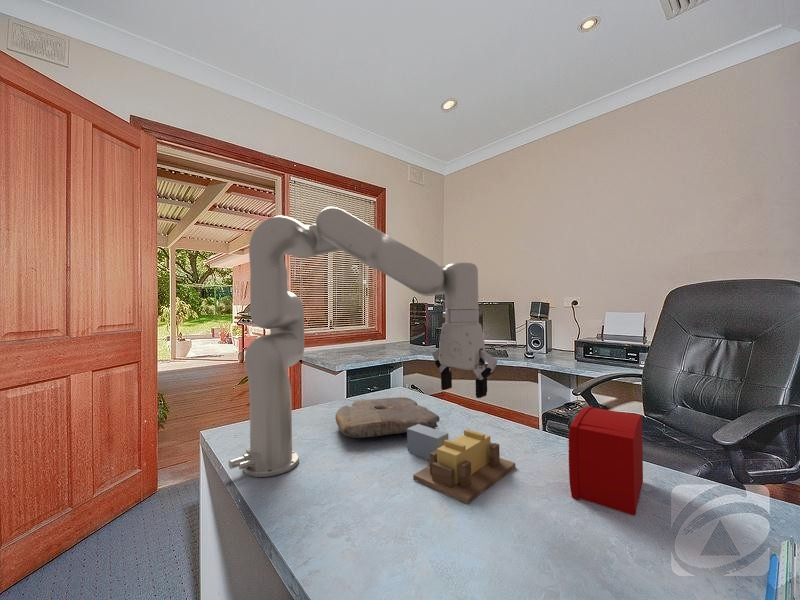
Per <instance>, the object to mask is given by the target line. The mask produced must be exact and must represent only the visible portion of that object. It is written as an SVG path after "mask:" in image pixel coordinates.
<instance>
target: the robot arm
mask: <svg viewBox="0 0 800 600" xmlns="http://www.w3.org/2000/svg"><path fill="white" fill-rule="evenodd" d="M248 251H249V254H248V255H249V257H248V258H249V267H250V269H249V271H250V273H249V274H250V275H249V276H250V278H249V281H250V282H249V293H250V294H249V297H250V299H249V301H250V305H249V306H250V307H249V309H250V310H249V311H250V317H251V321H252V322H253V324H254V325H255V326H256V327H258V328H260V329H264V330H265V329H267V330H269V331H270V332H269V334H263V335H260V336H258V337H257V338H255V339H253V340H252V341H251V342H249V345H248V346H247V348H246V349H245V353H244V365H245V370H246V375H247V380H248V393H249V394H248V398H249V400H248V401H249V441H250V442H249V443H250V445H249V446H250V448H246V450H245V453H244V454H242V456H239V457H235V458H233V459H229V460H228V468H229V469H230V470H233V469H235V468H237V467H238V469H239V470H243V472H244V473H245V474H246V475H248V476H250V477H255V478H268V477H275V476H278V475H281V474H284V473H287V472H288V471H291V470H292V469H294V468H295V467H296V466H298V464H299V461H300V455H299V454H298V453H297V451H294V450H293V424H292V423H293V417H292V416H293V415H292V411H293V410H292V408H293V407H292V386H291V385H292V384H291V381H290V377H289V373H288V368H291V367H293V366H295V365H296V364H298V363H299V361H300V360H301V359H302V358H303V356H304V352H305V311H304V310H305V309H304V306H303V303H302V301H301V299H300V297H299V296H298V295H297V294H295V293H294V292H291V291H289V289H288V270H287V266H286V263H285V256H286V255H288V256H292V257H295V258H299V259H305V258H306V259H307V258H313V257H317V256H320V255H325V254H329V253H333V252H337V251H342V252H343V253H346V254H348V256H350V257H352V258H354V259H355V260H357V261H359V262H360V263H363V264H364V265H365V266H367V267H369V268H371V269H373V270H376V271H379V272H380V273H383V275H384V274H385V275H386V276H388V277H389V278H392V279H393V280H394V281H397V282H398V283H400V284H402V285H403V286H404V287H407V288H408V289H410V290H411V291H413V292H415V293H417V294H418V295H421V296H424V297H433V296H438V295H444V312H443V313H442V317H443V318H444V320H445V322H444V323H442V325H441V329H440V337H439V346H438V347H439V348H438V349H437V350H434V351H433V352H432V356H433V360H434V364H435V366H436V367H437V370H438V373H440V384H441V385H440V387H441V391H446V390H449V389H452V388H453V383H452V381H453V377H452V376H453V373H452V371H451V369H457V370H458V369H459V370H464V371H472V372H473V373H474V374H475V375H476V377H477V379H475V397H476V398H477V399H480V398H484V397H486V396H487V393H488V379H489V378H490V377H491V375H492V374H494V371H495V368H496V367H497V365H498V363H499V362H498V359H496V358H495V357H494V356H492V355H491V354H489V353H488V352H487V351H486V345H485V338H484V337H485V336H484V331H483V326H482V324H481V323H480V322H479V321H480V318H479V316H480V314H479V313H480V312H479V309H480V307H479V269H478V267H477V264H475V263H472V262H454V263H449V264H447V265H445V266H444V265H439V264H438V263H436V262H435V261H434V260H432V259H430V258H429V257H427V256H425V255H423V254H422V253H420V252H418V251H416V250H414V249H412V248H411V247H409V246H407V245H405V244H404V243H402V242H400V241H398V240H396V239H395V238H393V237H391V236H390V235H388V234H386V233H384V232H382V231H381V230H379V229H378V228H375V227H374V226H372V225H370V224H368V223H366V222H365V221H363V220H361V219H359V218H358V217H356V216H355V215H353V214H351V213H350V212H347V211H346V210H344V209H342V208H339V207H336V206H327V207H326V208H323V209H322V210H321V211H320V212H319V213H318V214H317V216H316V218H315V223H313V224H309V225H305V224H303V223H302V222H300V221H298V220H297V219H294V218H292V217H289V216H285V215H274V216H270V217H269V218H266V219H265V220H263V221H261V222H260V224H258V225H257V226H256V228H255V229H254V231H253V232H252V234H251V237H250V240H249V248H248ZM486 363H487V365H485V364H486ZM485 366H486V367H485Z"/></svg>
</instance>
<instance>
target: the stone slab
mask: <svg viewBox="0 0 800 600" xmlns="http://www.w3.org/2000/svg"><path fill="white" fill-rule="evenodd" d="M335 422H336V425H337V427H338V429H339V431H340V433H341V434H342V435H343V436H345V437H350V438H353V439H354V438H355V439H363V438H372V437H380V436H388V435H395V434H404V433H407V428H410V427H412V426H415V425H417V424H420V425H423V426H426V427H430V428H433V429H436V428H438V427H439V425H438V424H437V423H438V422H440V416H439V415H438V414H436V412H433V411H431V410H429V409H428V408H427V407H426V406H422V405H419V404H418V403H417V401H415V400H414V399H412V398H409V397H405V396H404V397H402V396H401V397H400V396H399V397H388V398H374V399H364V400H363V399H362V400H361V399H360V400H354V401H353V403H352V404H351V406H349V405H343V406H342V407H340V408H339V409H338V410H337V412H336V413H335Z"/></svg>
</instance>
